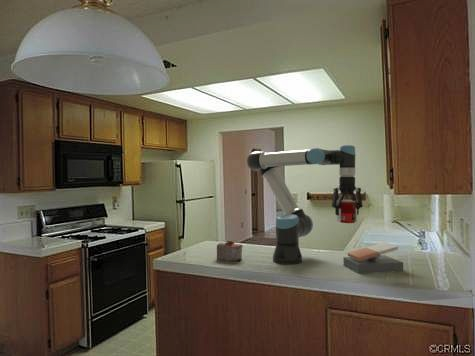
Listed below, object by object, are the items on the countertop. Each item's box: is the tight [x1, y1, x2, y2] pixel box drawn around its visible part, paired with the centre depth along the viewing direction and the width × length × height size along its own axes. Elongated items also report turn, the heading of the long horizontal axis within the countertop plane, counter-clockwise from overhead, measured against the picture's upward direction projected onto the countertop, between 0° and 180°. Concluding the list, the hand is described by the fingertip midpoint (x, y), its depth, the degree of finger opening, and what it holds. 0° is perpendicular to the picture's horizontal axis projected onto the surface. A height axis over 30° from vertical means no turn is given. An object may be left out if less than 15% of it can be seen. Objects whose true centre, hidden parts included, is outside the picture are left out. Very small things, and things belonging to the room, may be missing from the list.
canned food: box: [339, 199, 357, 224], centre depth 163 cm, size 8×8×11 cm
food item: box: [216, 240, 243, 262], centre depth 172 cm, size 14×8×10 cm, turn 69°
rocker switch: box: [347, 242, 399, 261], centre depth 154 cm, size 20×10×2 cm, turn 99°
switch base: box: [343, 254, 404, 274], centre depth 154 cm, size 22×14×6 cm, turn 99°
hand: (346, 221), depth 163 cm, fingers closed on canned food, 8 cm apart
